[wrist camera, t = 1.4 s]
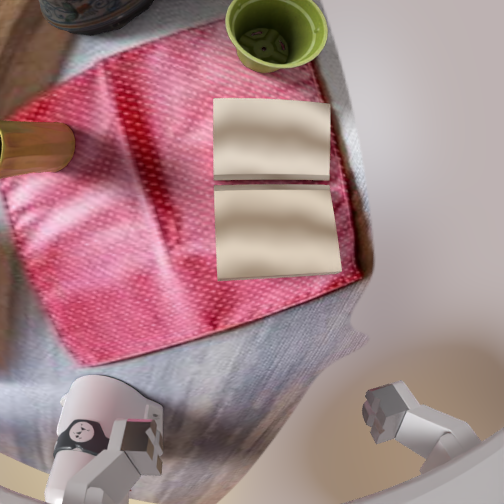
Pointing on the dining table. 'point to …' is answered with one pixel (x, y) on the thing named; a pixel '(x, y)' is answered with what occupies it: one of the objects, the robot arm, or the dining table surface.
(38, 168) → the vase
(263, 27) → the plant pot
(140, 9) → the beer stein
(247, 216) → the loose plank
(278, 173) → the board
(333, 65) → the dining table surface
